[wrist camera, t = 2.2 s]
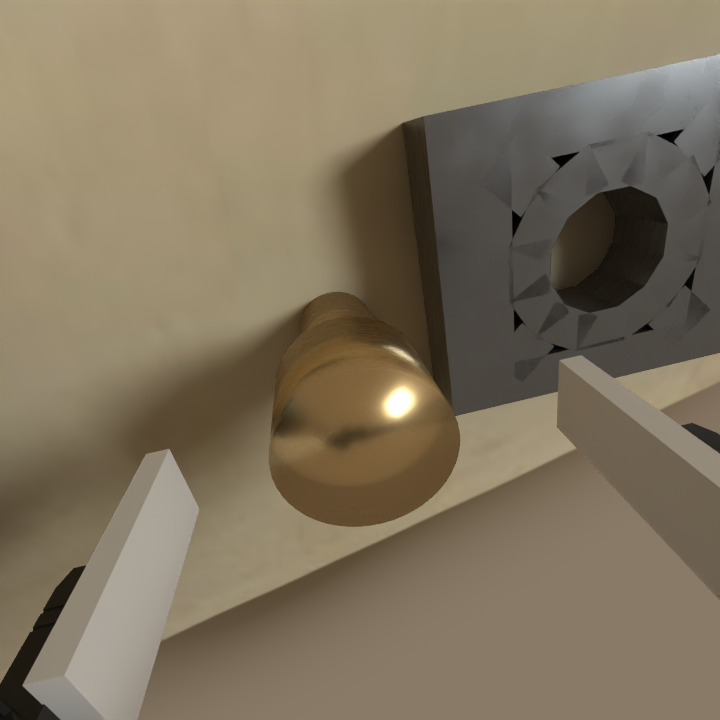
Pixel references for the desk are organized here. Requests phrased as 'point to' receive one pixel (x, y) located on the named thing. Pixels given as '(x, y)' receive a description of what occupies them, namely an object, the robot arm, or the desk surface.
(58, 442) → the desk surface
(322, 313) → the knob
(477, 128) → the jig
